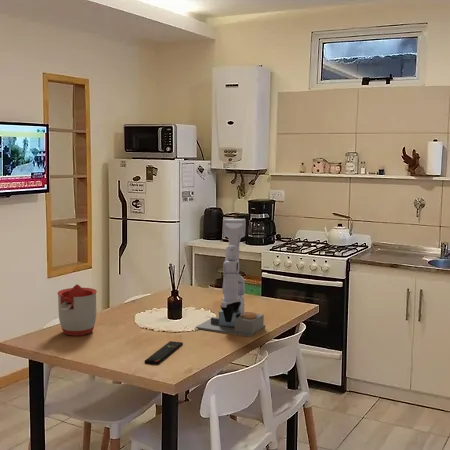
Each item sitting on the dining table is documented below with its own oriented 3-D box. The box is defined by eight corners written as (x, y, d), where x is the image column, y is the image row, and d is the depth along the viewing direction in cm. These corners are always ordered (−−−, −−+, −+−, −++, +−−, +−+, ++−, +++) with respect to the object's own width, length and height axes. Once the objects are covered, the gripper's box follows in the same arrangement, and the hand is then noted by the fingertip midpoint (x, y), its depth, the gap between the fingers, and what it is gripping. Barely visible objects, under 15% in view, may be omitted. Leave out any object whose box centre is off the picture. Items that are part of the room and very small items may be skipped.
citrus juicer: (47, 336, 249) (46, 287, 247) (72, 325, 265) (71, 279, 263) (81, 341, 244) (80, 291, 241) (104, 329, 260) (103, 282, 258)
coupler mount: (212, 319, 276) (212, 303, 275) (265, 326, 265) (265, 310, 264) (195, 328, 261) (195, 312, 261) (250, 336, 251) (250, 320, 250)
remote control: (182, 345, 241) (182, 342, 240) (157, 366, 218) (157, 362, 218) (170, 344, 242) (170, 341, 242) (143, 365, 219) (143, 361, 219)
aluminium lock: (223, 322, 267) (223, 307, 266) (240, 324, 264) (240, 309, 263) (218, 325, 263) (218, 310, 262) (236, 327, 260) (235, 311, 259)
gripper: (229, 284, 269) (229, 315, 271) (214, 291, 256) (214, 323, 258) (244, 286, 266) (244, 317, 268) (230, 293, 253) (230, 325, 255)
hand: (230, 320), depth 263 cm, fingers closed on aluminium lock, 5 cm apart
